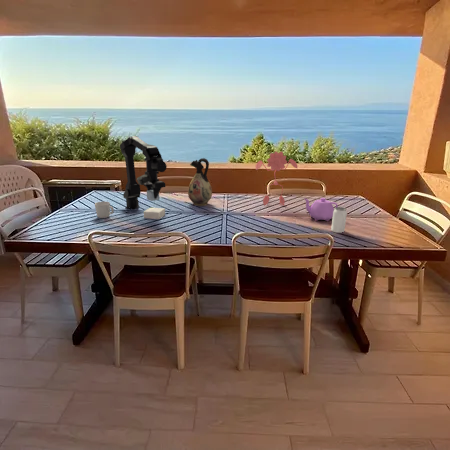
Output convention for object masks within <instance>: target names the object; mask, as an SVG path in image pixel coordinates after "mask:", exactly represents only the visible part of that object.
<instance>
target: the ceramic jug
mask: <svg viewBox="0 0 450 450" xmlns="http://www.w3.org/2000/svg"><path fill="white" fill-rule="evenodd" d="M203 162H204V163H205V167H204V165H203ZM189 165H190V166H191V167H192V168H193V167H194V168H195V170H196V171H195V172H196V173H195V175H194V176H192V179H191V181H190V183H189V186H188V189H187V194H188V199H189V200H190V201H191V202H192V206H196V207H201V206H203V207H204V206H208V203H209V201H211V199H212V196H213V189H212V186H211V183H210V182H209V179H208V175H207V174H208V170H209V166H210V162H209V161H208V159H207V158H204V157H203V158H200V159H195V160H193V161H191V163H190V164H189ZM204 168H205V169H204ZM203 170H204V172H203Z"/></svg>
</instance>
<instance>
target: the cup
mask: <svg viewBox="0 0 450 450" xmlns="http://www.w3.org/2000/svg"><path fill="white" fill-rule="evenodd" d="M94 207H95V213H96V216H97V218H99V219H106V218H109V217H110V216H111V215H113V214H114V212H115V211H114V210H115V209H114V207H113V206H112V205H111V203H110V201H97V202H95V203H94Z"/></svg>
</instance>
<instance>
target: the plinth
mask: <svg viewBox="0 0 450 450" xmlns="http://www.w3.org/2000/svg"><path fill="white" fill-rule="evenodd" d="M164 216H166V208H163V207H161V208H160V207H149V208H147V209H146V210H144V211H143V218H144V219H153V220H160V219H162V218H163V217H164Z"/></svg>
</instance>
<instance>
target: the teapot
mask: <svg viewBox="0 0 450 450" xmlns="http://www.w3.org/2000/svg"><path fill="white" fill-rule="evenodd" d="M303 199H304V200H305V210H306V211H307V213H308V214H309V215H310V217H311V218H313V219H314V221H315V220H317V221H316V222H319V221H318V220H321V221H325V222H330V220H331V219H333V211H334V209H335V208H336V207H339V204H338V203H336V202H335V201H330V200H329V199H328V200H327V198H325V197H320V199H316V200H314V202H313V203H311V205H310V202H309V199H307V198H305V197H304V198H303ZM333 205H335V207H334V206H333Z"/></svg>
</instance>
